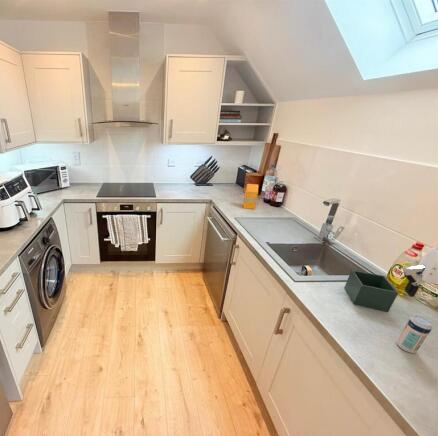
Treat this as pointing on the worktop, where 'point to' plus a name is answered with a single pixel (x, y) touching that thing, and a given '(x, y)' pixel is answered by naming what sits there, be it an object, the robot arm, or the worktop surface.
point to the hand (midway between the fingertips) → (429, 298)
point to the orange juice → (250, 196)
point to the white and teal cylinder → (414, 334)
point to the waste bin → (370, 290)
